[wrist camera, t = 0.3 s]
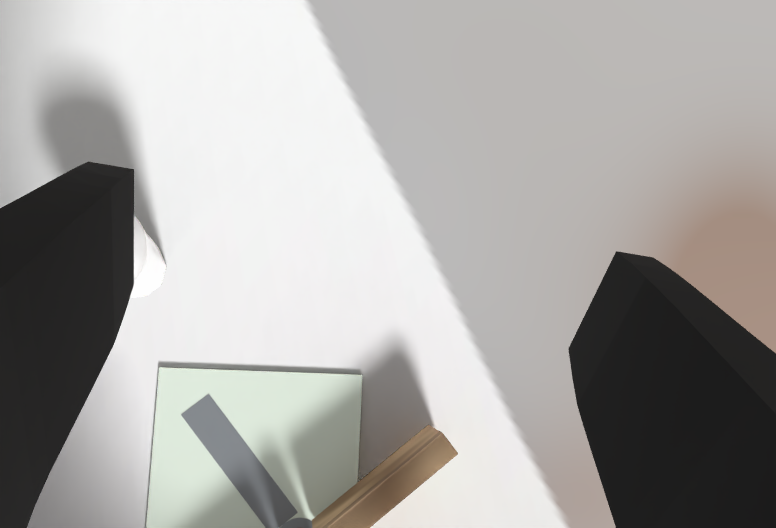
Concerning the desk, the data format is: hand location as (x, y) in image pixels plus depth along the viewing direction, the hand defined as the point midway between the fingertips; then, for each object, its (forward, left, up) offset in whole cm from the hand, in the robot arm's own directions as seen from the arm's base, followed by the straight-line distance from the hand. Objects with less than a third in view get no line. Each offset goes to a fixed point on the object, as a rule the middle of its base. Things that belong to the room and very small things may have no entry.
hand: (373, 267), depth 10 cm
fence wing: (-8, -4, -28) cm, 30 cm away
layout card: (-10, +3, -29) cm, 31 cm away
